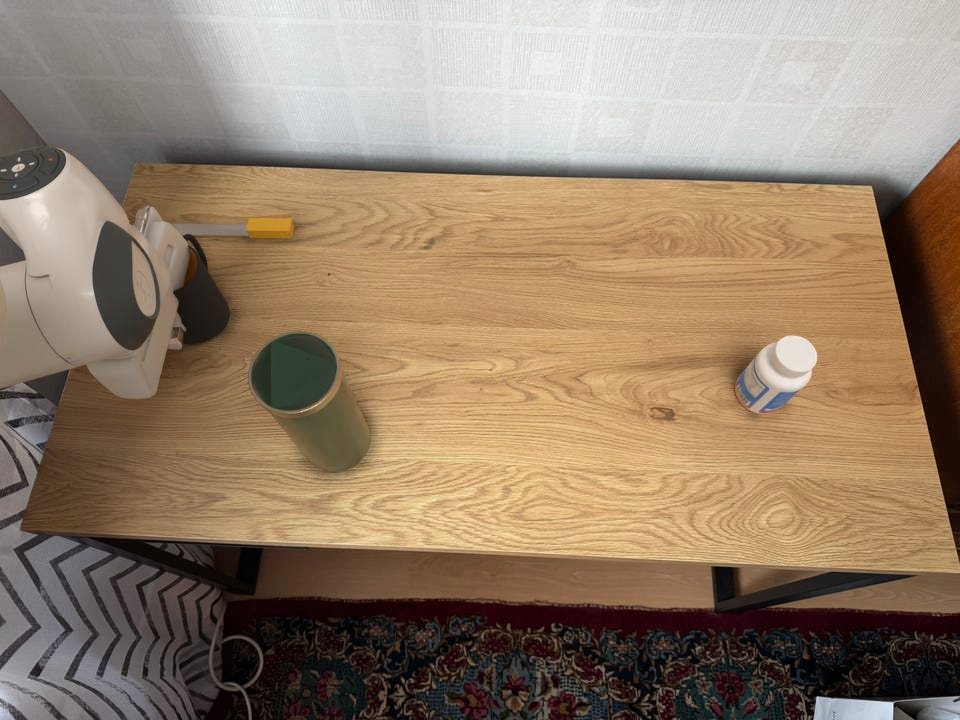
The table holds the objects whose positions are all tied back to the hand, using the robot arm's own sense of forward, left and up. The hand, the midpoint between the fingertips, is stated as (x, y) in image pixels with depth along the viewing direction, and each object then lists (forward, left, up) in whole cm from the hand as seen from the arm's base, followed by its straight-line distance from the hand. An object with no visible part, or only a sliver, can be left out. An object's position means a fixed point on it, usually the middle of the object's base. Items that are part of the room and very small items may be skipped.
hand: (177, 339), depth 77 cm
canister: (+3, -23, -4) cm, 23 cm away
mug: (+6, +4, -4) cm, 8 cm away
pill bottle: (+39, -61, -4) cm, 72 cm away
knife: (+17, +10, -4) cm, 20 cm away
